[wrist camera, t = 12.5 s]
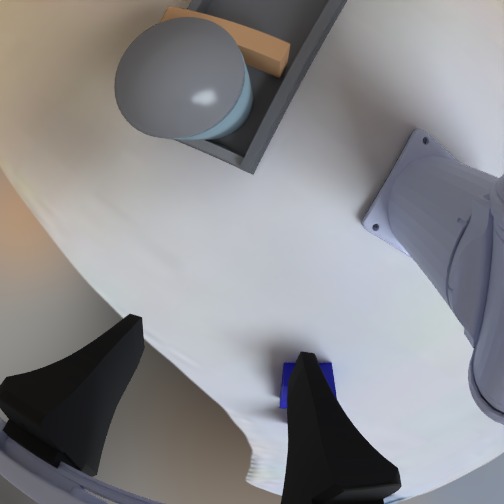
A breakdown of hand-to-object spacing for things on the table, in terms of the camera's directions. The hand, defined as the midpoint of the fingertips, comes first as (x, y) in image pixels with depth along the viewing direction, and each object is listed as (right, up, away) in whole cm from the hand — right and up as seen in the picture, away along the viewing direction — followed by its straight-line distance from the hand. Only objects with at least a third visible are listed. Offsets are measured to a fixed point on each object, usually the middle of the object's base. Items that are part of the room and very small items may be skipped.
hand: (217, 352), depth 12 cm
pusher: (+1, +16, +2) cm, 16 cm away
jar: (-1, +13, +3) cm, 14 cm away
